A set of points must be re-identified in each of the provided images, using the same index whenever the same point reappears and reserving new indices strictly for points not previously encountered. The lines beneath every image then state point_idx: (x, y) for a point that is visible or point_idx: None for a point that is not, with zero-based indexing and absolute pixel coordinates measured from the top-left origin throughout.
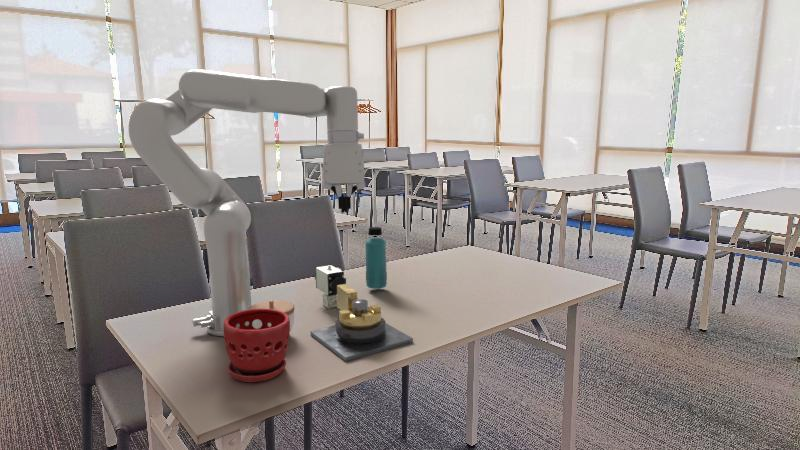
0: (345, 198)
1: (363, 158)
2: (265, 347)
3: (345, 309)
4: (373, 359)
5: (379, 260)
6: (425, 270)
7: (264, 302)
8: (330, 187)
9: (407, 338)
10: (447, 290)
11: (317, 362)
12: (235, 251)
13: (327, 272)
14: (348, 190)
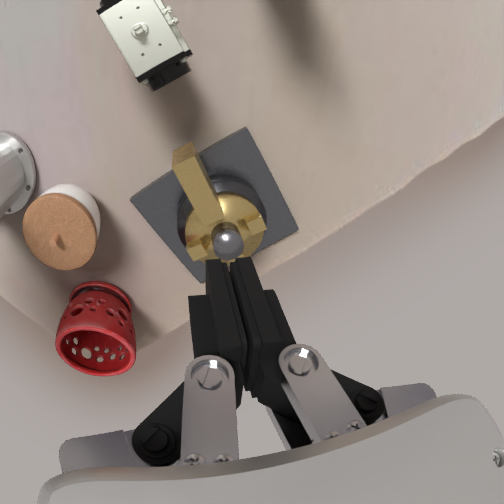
0: (251, 388)
1: None
2: (121, 356)
3: (195, 212)
4: None
5: None
6: None
7: (35, 216)
8: (139, 460)
9: (291, 229)
10: (406, 9)
11: (163, 281)
12: None
13: (135, 63)
14: (290, 430)
